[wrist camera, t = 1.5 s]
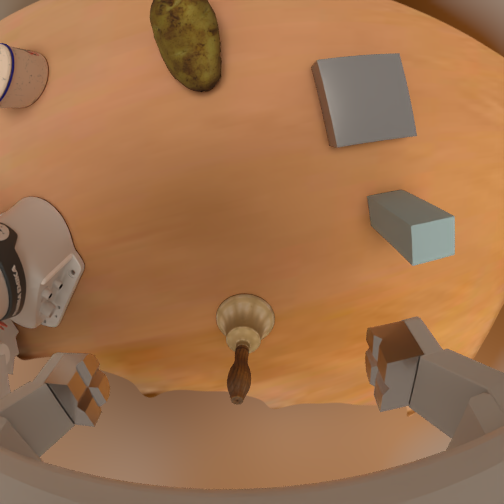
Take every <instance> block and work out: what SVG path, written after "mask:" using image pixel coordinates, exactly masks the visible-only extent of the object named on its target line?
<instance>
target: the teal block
mask: <svg viewBox="0 0 504 504" xmlns="http://www.w3.org/2000/svg"><path fill="white" fill-rule="evenodd" d="M367 198H368V205H369V213H370V221H371V226H372V227H373V228H374V229H375V230H376V231H377V232H378V233H379V234H380V235H382V236H383V237H384V238H385V239H386V240H387V241H388V242H389V243H390V244H391V245H392V246H393V247H394V248H395V249H396V250H397V251H398V252H399V253H400V254H401V255H402V256H403V257H404V258H405V259H406V260H407V261H408V262H409V263H410V264H411V265H412V266H414V265H418V264H421V263H425V262H429V261H433V260H437V259H440V258H444V257H448V256H451V255H454V254H455V219H454V216H453V215H451V214H449V213H447V212H445V211H444V210H442V209H440V208H438V207H436V206H434V205H432V204H430V203H428V202H426V201H424V200H422V199H420V198H418V197H416V196H414V195H412V194H410V193H408V192H406V191H404V190H397V191H391V192H386V193H381V194H376V195H370V196H367Z"/></svg>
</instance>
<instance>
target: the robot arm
mask: <svg viewBox="0 0 504 504" xmlns="http://www.w3.org/2000/svg"><path fill="white" fill-rule="evenodd" d="M73 270H74V271H75V273H74V272H73ZM83 271H84V263H83V261H82V259H81V257H80V256H79V254H78V253H77V251H76V250H75V248H74V246H73V242H72V239H71V235H70V232H69V229H68V227H67V225H66V223H65V221H64V219H63V218H62V216H61V215H60V213H59V212H58V211H57V210H56V209H55V208H54V207H53V206H52V205H51V204H50V203H48V202H47V201H45V200H43V199H40V198H37V197H26V198H23V199H21V200H20V201H18V202H17V203H16V204H15V205H14V206H13V207H11V208H10V209H9V210H8V211H6V212H3V213H1V214H0V325H2V326H4V327H8V326H7V325H6V324H5V323H4V322H2V321H3V320H6V319H10V320H12V321H13V322H15V323H17V324H19V325H21V326H23V327H26V328H36V327H37V326H39V325H40V324H42V325H45V326H49V327H57V326H58V325H59V324H60V322H61V320H62V317H63V315H64V313H65V310H66V308H67V306H68V303H69V301H70V299H71V297H72V294H73V292H74V290H75V288H76V286H77V284H78V281H79V279H80V277H81V275H82V273H83ZM2 326H0V328H1V329H2V330H4V328H3V327H2ZM366 341H367V343H368V345H369V349H368V350H367V351H366V356H365V363H366V372H367V376H368V379H369V382H370V384H371V385H373V386H375V390H374V396H375V399H376V402H377V405H378V407H379V410H380V412H382V411H387V410H391V409H396V408H400V407H405V406H409V407H410V408H411V409H413V410H414V411H415V412H417V413H418V414H419V415H421V416H422V417H423V418H425V419H426V420H427V421H429V422H430V423H431V424H433V425H434V426H436V427H437V428H438V429H440V430H441V431H442V432H443V433H445V434H446V435H448V436H449V437H450V438H452V440H451V442H450V444H449V446H448V448H447V449H446V451H443V452H440V453H438V454H435V455H432V456H429V457H426V458H423V459H420V460H417V461H414V462H410V463H407V464H403V465H400V466H396V467H392V468H389V469H385V470H381V471H376V472H373V473H368V474H364V475H359V476H354V477H349V478H343V479H338V480H332V481H326V482H319V483H312V484H304V485H295V486H285V487H273V488H256V489H196V488H179V487H168V486H157V485H149V484H141V483H134V482H127V481H121V480H115V479H110V478H105V477H100V476H95V475H91V474H86V473H82V472H77V471H74V470H69V469H66V468H62V467H58V466H55V465H52V464H48V463H45V462H43V461H42V460H41V458H40V456H41V455H43V454H44V453H45V452H46V451H47V450H48V449H49V448H50V447H51V446H53V445H54V444H55V443H56V442H57V441H58V440H59V439H60V438H61V437H62V436H64V435H65V434H66V433H67V432H68V431H69V430H70V429H71V428H72V427H73V426H74V424H77V425H85V426H95V425H96V423H97V421H98V418H99V416H100V414H101V412H102V411H101V408H100V406H102V405H103V404H104V403H106V402H107V400H108V397H109V392H110V386H109V382H108V379H107V377H106V375H105V374H104V373H103V372H101V371H100V370H99V362H98V360H97V358H96V357H95V356H94V355H92V354H85V353H55V354H53V355H52V356H51V358H50V359H49V360H48V362H47V363H46V364H45V366H44V367H43V368H42V370H41V371H40V372H39V374H38V375H37V376H36V378H35V379H34V380H33V382H28V383H26V384H24V385H23V386H21V387H19V388H18V389H16V390H14V391H13V392H11V393H9V394H8V395H6V396H4V397H3V398H1V399H0V504H504V373H503V372H500V371H498V370H495V369H493V368H491V367H488V366H486V365H484V364H482V363H479V362H477V361H475V360H472V359H470V358H468V357H465V356H463V355H461V354H458V353H456V352H454V351H452V350H449V349H445V350H443V349H442V348H441V346H440V345H439V344H438V342H437V341H436V339H435V338H434V336H433V335H432V334H431V332H430V331H429V329H428V328H427V327H426V325H425V324H424V323H423V321H422V320H421V318H419V317H413V318H409V319H405V320H401V321H399V322H395V323H390V324H385V325H380V326H375V327H370V328H368V329H367V335H366Z"/></svg>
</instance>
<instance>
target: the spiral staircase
mask: <svg viewBox="0 0 504 504" xmlns="http://www.w3.org/2000/svg"><path fill="white" fill-rule="evenodd" d="M2 322H4V323H5V324H6V325H7V326H8V327H4V326H2V325H0V326H2V327H3V328H4V330H2V329H1V328H0V399H1V398H3V397H4V396H6V395H8V394H9V393H11V392H10V386H9V380H8V374H13V366H14V357H15V356H17V355H18V354H19V350H18V346H17V341H16V335H17V334H18V332H19V331H18V330H17V328H16V327H15V325H14V324H13V322H12V321H11V320H10V319H6V320H3V321H2Z"/></svg>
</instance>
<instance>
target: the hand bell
mask: <svg viewBox="0 0 504 504" xmlns="http://www.w3.org/2000/svg"><path fill="white" fill-rule="evenodd" d="M216 321H217V325H218V327H219V329H220V331H221V332H222V333H223V334H224V335H225V336H226V341H227V344H228V346H229V347H230V349H232V350H233V351H235V361H234V364H233V365H232V367H231V369H230V371H229V374H228V379H227V387H228V391H229V394H230V397H231V401H232V403H234V404H241V403H242V402H243V400H244V398H245V396H246V394H247V393H248V391H249V388H250V385H251V373H250V369H249V366H248V363H247V362H248V355H249V353H251V352H253V351H255V350H256V349H257V348H258V347H259V345H260V342H261V339H263V338H264V337H266V336H267V335H268V334H269V333H270V331H271V330H272V328H273V326H274V321H275V317H274V312H273V310H272V308H271V306H270V305H269V304H268V303H267V302H266V301H265V300H263V299H262V298H260V297H257V296H255V295H250V294H238V295H234V296H232V297H229V298H228V299H226V300H225V301H224V302H222V304H221V305H220V306H219V308H218V310H217V314H216Z"/></svg>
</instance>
